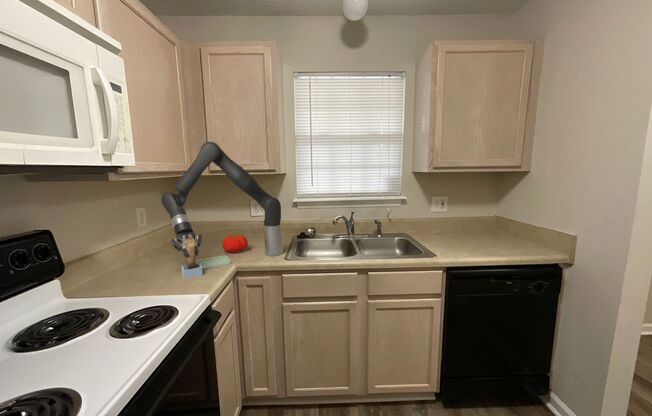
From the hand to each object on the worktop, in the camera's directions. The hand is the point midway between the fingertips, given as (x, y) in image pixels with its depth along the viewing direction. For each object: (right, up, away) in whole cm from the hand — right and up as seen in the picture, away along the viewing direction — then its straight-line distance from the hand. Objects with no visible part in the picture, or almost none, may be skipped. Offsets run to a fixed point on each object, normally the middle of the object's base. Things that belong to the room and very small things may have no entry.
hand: (192, 255), depth 124 cm
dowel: (-1, -7, +3) cm, 8 cm away
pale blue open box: (-1, -10, +3) cm, 10 cm away
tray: (+2, -8, +18) cm, 19 cm away
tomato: (+6, -5, +41) cm, 42 cm away
